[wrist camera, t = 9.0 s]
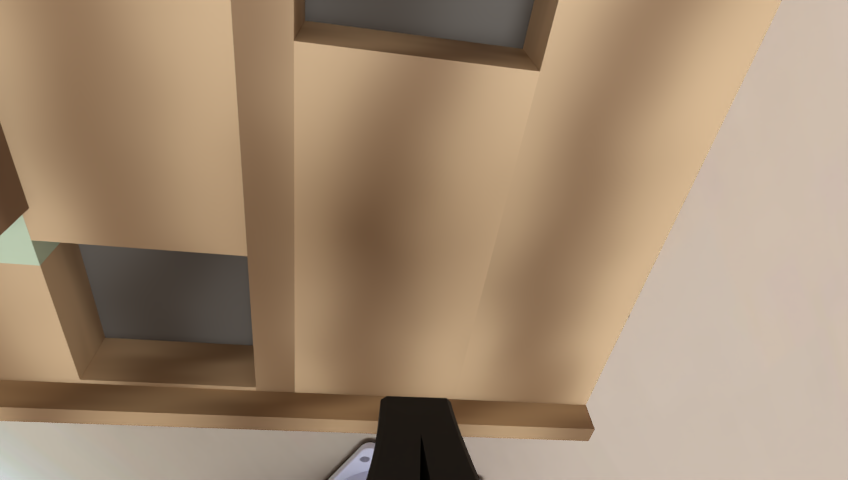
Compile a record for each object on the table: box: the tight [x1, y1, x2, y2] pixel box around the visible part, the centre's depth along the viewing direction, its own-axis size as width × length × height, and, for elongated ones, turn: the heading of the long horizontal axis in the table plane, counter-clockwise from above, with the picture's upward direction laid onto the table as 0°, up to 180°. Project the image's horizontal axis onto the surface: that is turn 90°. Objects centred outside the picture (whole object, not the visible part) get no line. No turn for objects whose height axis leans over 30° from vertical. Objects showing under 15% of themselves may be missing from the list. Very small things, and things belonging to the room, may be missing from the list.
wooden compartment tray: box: [0, 0, 782, 441], centre depth 15 cm, size 26×22×4 cm
